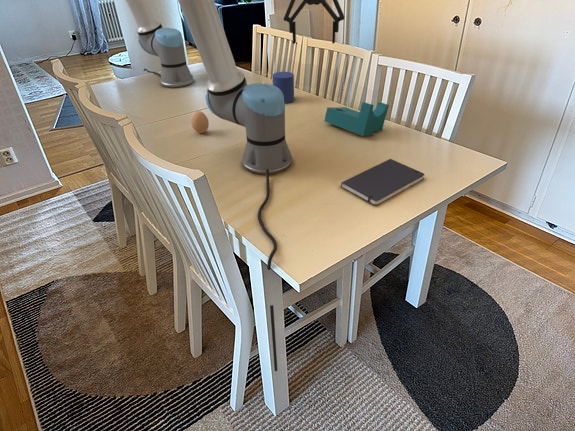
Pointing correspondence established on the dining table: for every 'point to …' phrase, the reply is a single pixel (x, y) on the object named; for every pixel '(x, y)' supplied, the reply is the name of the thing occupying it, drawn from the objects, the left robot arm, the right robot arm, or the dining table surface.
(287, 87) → the canister
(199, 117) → the egg
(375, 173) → the notebook
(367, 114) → the teal l-shaped bracket
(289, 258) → the dining table surface
